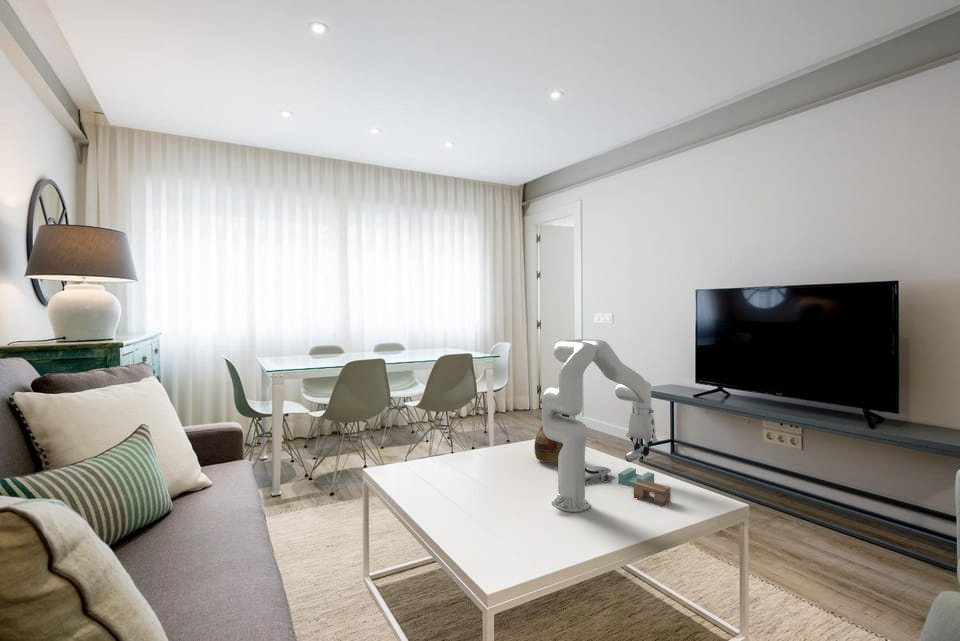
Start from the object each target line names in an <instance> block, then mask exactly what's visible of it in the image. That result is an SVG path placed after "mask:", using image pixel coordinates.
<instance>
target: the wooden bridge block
mask: <svg viewBox="0 0 960 641" xmlns="http://www.w3.org/2000/svg"><path fill="white" fill-rule="evenodd" d="M671 490H672V487H671V486H669V485H663V484H659V483H658V482H657V483H656V482H654V483H653V482H649V481H645V480H639V481H637V482H635V483H634V487H633V499H636V498H637V500H639V499H640V500H639V501H645V500H646V499H648V498H649V497H650V496H651V494H650V493H652V494H653V499H654V500H653V504H654V505H657V506H661V507H663V506H664V507H666V506H667V505H668V504H670V503H671V499H672V498H671V497H672V496H671V495H672V494H671V493H672V492H671ZM669 502H670V503H669ZM665 505H666V506H665Z"/></svg>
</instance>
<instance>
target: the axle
mask: <svg viewBox="0 0 960 641" xmlns="http://www.w3.org/2000/svg"><path fill="white" fill-rule="evenodd" d="M644 447H645V445H644V446H640V448H639V449H637V450H635V451H634V450H633V451H630V452H628V453H626V454H625V456H624V459H625V461H626V462H628V463H632V462H634V461H636V460H637V459H639V458H641V457H644Z"/></svg>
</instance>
